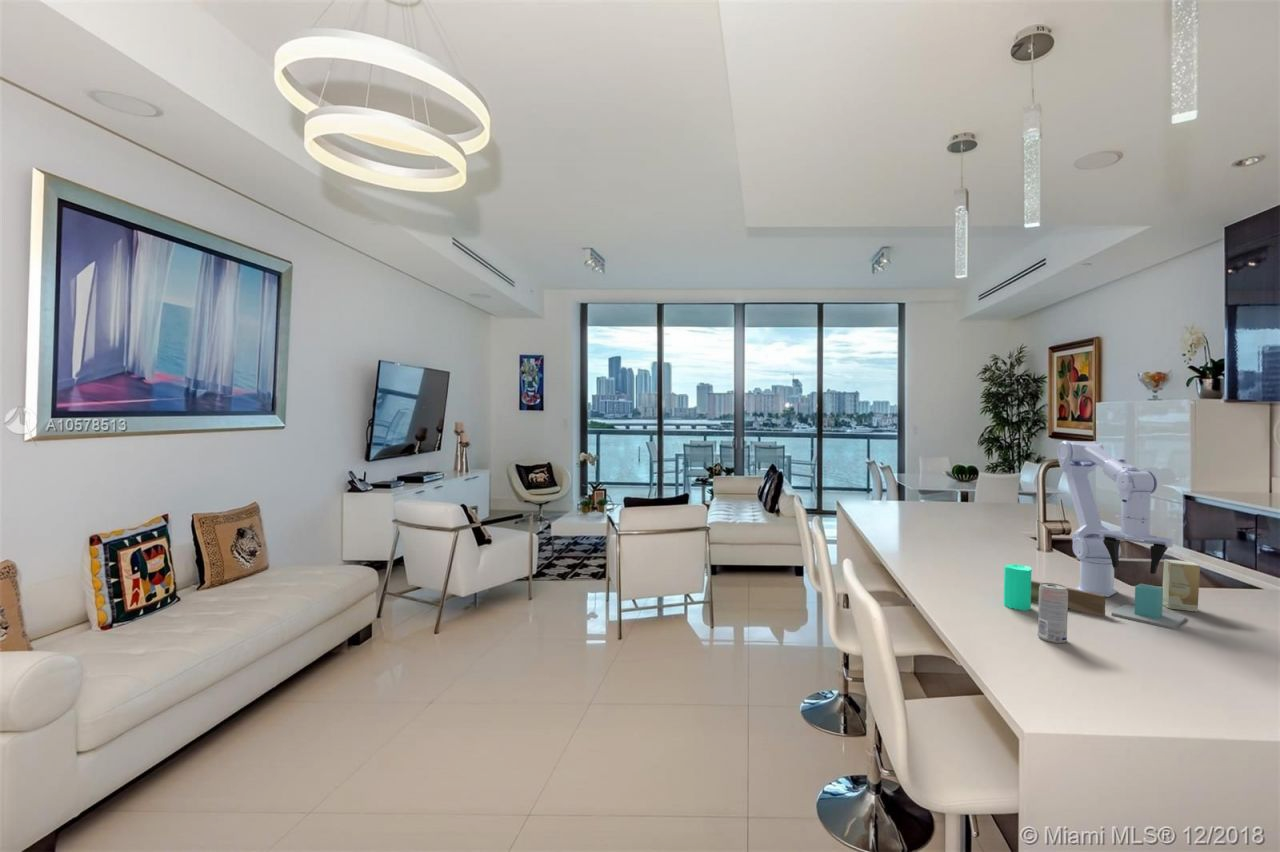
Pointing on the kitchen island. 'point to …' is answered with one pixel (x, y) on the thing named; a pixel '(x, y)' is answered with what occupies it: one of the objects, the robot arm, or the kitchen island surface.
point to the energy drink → (1053, 612)
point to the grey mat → (1164, 621)
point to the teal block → (1148, 601)
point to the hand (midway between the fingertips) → (1134, 569)
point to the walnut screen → (1077, 600)
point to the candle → (1017, 586)
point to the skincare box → (1181, 585)
